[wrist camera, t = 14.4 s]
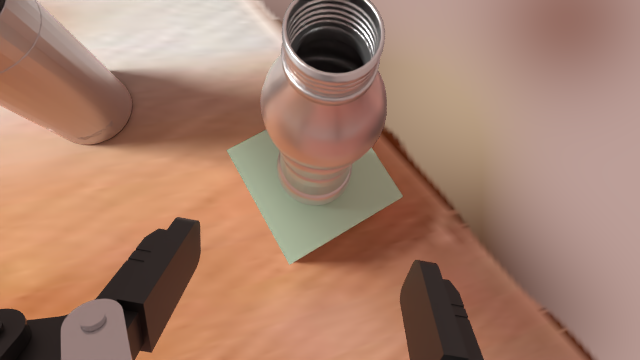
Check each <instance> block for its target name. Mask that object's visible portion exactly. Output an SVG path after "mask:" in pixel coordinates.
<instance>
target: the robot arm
mask: <svg viewBox="0 0 640 360" xmlns="http://www.w3.org/2000/svg"><path fill="white" fill-rule="evenodd" d="M0 106H2V107H4V108H6V109H8V110H10V111H12V112H14V113H16V114H18V115H20V116H22V117H24V118H26V119H28V120H30V121H32V122H34V123H36V124H38V125H40V126H42V127H44V128H46V129H48V130H50V131H52V132H54V133H56V134H58V135H60V136H62V137H63V138H65V139H68V140H70V141H72V142H74V143H78V144H96V143H100V142H103V141H106V140H108V139H110V138H112V137H113V136H115V135H116V134H117V133H118V132H120V131H121V130H122V128H123V127H124V126H125V125H126V123H127V121H128V119H129V117H130V115H131V111H132V100H131V95H130V93H129V91H128V89H127V88H126V87H125V86H124V85H123V83H122V82H121V81H119V80H118V79H117V78H116V77H115V76H114V75H113V74H112V73H111V72H110V71H109V70H108V69H107V68H106V67H105V66H104V65H103V64H102V63H101V62H100V61H99V60H98V59H97V58H96V57H95V56H94V55H93V54H92V53H91V52H90V51H89V50H88V49H87V48H86V47H84V46H83V45H82V44H81V43H80V42H79V41H78V40H77V39H76V38H75V37H74V36H73V35H72V34H71V33H70V32H69V31H68V30H67V29H66V28H65V27H64V26H63V25H62V24H61V23H60V22H59V21H58V20H57V19H55V18H54V17H53V16H52V15H51V14H50V13H49V12H48V11H47V10H46V9H45V8H44V7H43V6H42V5H41V4H40V3H39V2H38V1H37V0H0ZM200 252H201V247H200V222H199V221H197V220H191V219H186V218H180V217H177V218H176V219H175V220H174V221H173V222H172V224H171V225H170V227H169V228H168V229H167V230H164V229H157V230H156V231H154V232H153V233H151V234H149V235H148V236H146V237H145V238H144V239H143V240H142V242H141V243H140V244H139V246H138V247H137V248H136V251H134V252H133V253H132V254H131V256H130V257H129V259H128V261H126V262H125V263H124V264H123V266H122V267H121V268H120V269H119V271H118V272H117V273H116V274H115V276H114V277H113V278H112V279H111V281H110V282H109V283H108V284H107V286H106V287H105V288H104V289H103V291H102V292H101V293H100V294H99V296H98V297H97V298H96V299H95V300H92V301H89V302H86V303H84V304H82V305H80V306H79V307H77V308H76V309H74V310H73V311H72V312H71V313H70V314H68V315H65V316H60V317H52V318H43V319H34V320H26V318H25V316H24V315H23V313H21V312H20V311H18V310H14V309H0V360H135V358H136V357H137V355H138V353H139V351H145V352H151V353H152V351H153V349H154V347H155V345H156V343H157V341H158V339H159V338H160V336H161V334H162V332H163V330H164V328H165V326H166V324H167V322H168V321H169V319H170V317H171V315H172V313H173V311H174V309H175V307H176V305H177V304H178V302H179V300H180V298H181V296H182V294H183V292H184V290H185V288H186V287H187V285H188V283H189V281H190V279H191V277H192V275H193V273H194V271H195V269H196V267H197V265H198V262H199V258H200ZM400 304H401V310H402V316H403V322H404V328H405V333H406V339H407V345H408V351H409V357H410V360H484V359H483V356H482V354H481V351H480V348H479V346H478V343H477V340H476V337H475V335H474V332H473V329H472V327H471V324H470V321H469V320H468V316H467V313H466V310H465V309H464V305H463V302H462V300H461V297H460V294H459V292H458V291H457V290H456V288H455V287H454V286H453V284H452V283H451V282H450V281H449V280H445V279H442V276H441V273H440V269H439V267H438V265H437V264H436V263H431V262H426V261H420V260H415V261H414V262H413V264H412V266H411V269H410V271H409V273H408V275H407V277H406V279H405V282H404V284H403V286H402V289H401V294H400Z"/></svg>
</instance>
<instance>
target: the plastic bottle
mask: <svg viewBox="0 0 640 360" xmlns="http://www.w3.org/2000/svg"><path fill="white" fill-rule="evenodd" d="M384 40H385V29H384V24H383V20H382V18H381V16H380V13H379V11H378V10H377V9H376V7H375V6H374V4H373V3H372V2H371V1H370V0H293V1H292V2H291V3H290V5H289V7H288V8H287V10H286V12H285V15H284V18H283V24H282V41H283V43H282V49H281V55H280V56H279V57H278V58H277V59H276V60H275V61H274V62H273V64H272V66H271V68H270V69H269V71H268V73H267V76H266V79H265V82H264V85H263V88H262V91H261V100H260V106H261V115H262V118H263V121H264V125H265V127H266V129H267V132H268V134H269V135H270V137H271V139H272V141H273V143H274V144H275V145H276V147H277V148H278V149H279V151H280V152H279V155H278V160H277V174H278V178H279V181H280V183H281V185H282V187H283V189H284V190H285V191H286V192H287V194H288V195H290V196H291V197H292V198H293V199H295V200H297V201H298V202H300V203H303V204H307V205H314V206H317V205H324V204H327V203H330V202H332V201H334V200H335V199H337V198H338V197H339V196H340V195H342V194H343V192H344V191H345V189H346V188H347V186H348V184H349V182H350V178H351V173H352V164H353V163H354V162H356V161H357V160H359V159H360V158H361V157H362V156H363V155H364V154H366V153H367V152H368V151H369V150H370V148H371V147H372V146H373V145H374V144H375V142H376V141H377V140H378V138H379V137H380V134H381V132H382V130H383V128H384V124H385V120H386V115H387V114H386V113H387V111H386V110H387V108H386V106H387V100H386V91H385V86H384V83H383V80H382V77H381V75H380V73H379V71H378V67H379V61H380V56H381V54H382V51H383V47H384Z"/></svg>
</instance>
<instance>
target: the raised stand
mask: <svg viewBox="0 0 640 360" xmlns="http://www.w3.org/2000/svg"><path fill="white" fill-rule="evenodd" d="M227 152H228V154H229V156H230V157H231V159H232V161H233V163H234V165H235V166H236V168H237V170H238V172H239V174H240V176H241V177H242V179H243V181H244V183H245V185H246V186H247V188H248V190H249V192H250V194H251V196H252V197H253V199H254V201H255V203H256V205H257V206H258V208H259V210H260V212H261V214H262V216H263V217H264V219H265V221H266V223H267V225H268V227H269V228H270V230H271V232H272V234H273V236H274V237H275V239H276V241H277V243H278V245H279V247H280V248H281V250H282V252H283V254H284V256H285V257H286V259H287V261H288V263H289V265H290V264H292V263H293V262H295V261H297V260H298V259H300V258H302V257H303V256H305V255H307V254H308V253H310V252H312V251H313V250H315V249H317V248H318V247H320V246H322V245H323V244H325V243H327V242H328V241H330V240H332V239H333V238H335V237H337V236H338V235H340V234H342V233H343V232H345V231H347V230H348V229H350V228H352V227H354V226H355V225H357V224H359V223H360V222H362V221H364V220H365V219H367V218H369V217H370V216H372V215H374V214H375V213H377V212H379V211H380V210H382V209H384V208H385V207H387V206H389V205H390V204H392V203H394V202H395V201H397V200H399V199H400V198H402V197H403V195H402V194H401V192H400V191H399V189H398V188H397V186H396V185H395V183H394V181H393V180H392V178H391V177H390V175H389V174H388V172H387V171H386V169H385V168H384V166H383V164H382V163H381V161H380V160H379V158H378V157H377V155H376V154H375V152H374V151H373V149H372V148H370V150H369V151H368V152H367V153H366V154H364V155H363V156H362V157H361V158H360V159H359V160H357V161H356V162H354V163H353V164H352V173H351V178H350V182H349V184H348V186H347V188H346V189H345V191H344V192H343V194H342V195H340V196H339V197H338V198H337V199H335V200H334V201H332V202H330V203H327V204H324V205H317V206H314V205H307V204H303V203H300V202H298V201H297V200H295V199H293V198H292V197H291V196H290V195H288V194H287V192H286V191H285V190H284V189H283V187H282V185H281V183H280V181H279V178H278V174H277V160H278V155H279V152H280V151H279V149H278V148H277V147H276V145H275V144H274V143H273V141H272V139H271V137H270V135H269V134H268V132H267V129H266V130H264V131H262V132H261V133H259V134H257V135H255V136H253V137H251V138H249V139H247V140H245V141H243V142H241V143H239V144H237V145H235V146H233V147H231V148H230V149H228V150H227Z"/></svg>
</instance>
